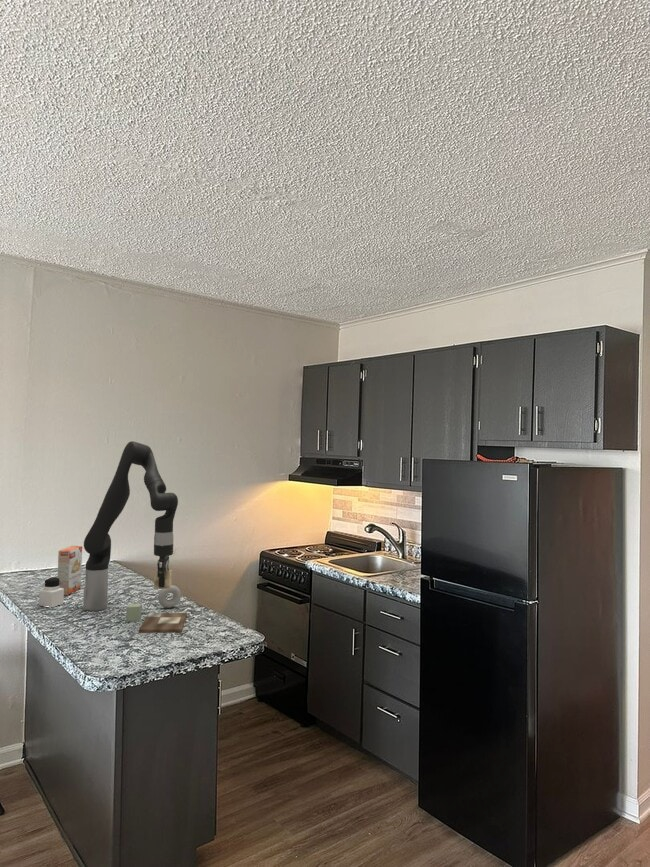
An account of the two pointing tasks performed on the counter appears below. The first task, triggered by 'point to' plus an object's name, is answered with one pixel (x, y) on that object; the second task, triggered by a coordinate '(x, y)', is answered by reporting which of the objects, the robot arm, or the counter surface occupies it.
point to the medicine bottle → (51, 593)
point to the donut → (173, 601)
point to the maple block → (167, 580)
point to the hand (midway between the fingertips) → (163, 584)
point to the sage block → (133, 613)
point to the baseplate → (163, 622)
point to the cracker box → (70, 568)
